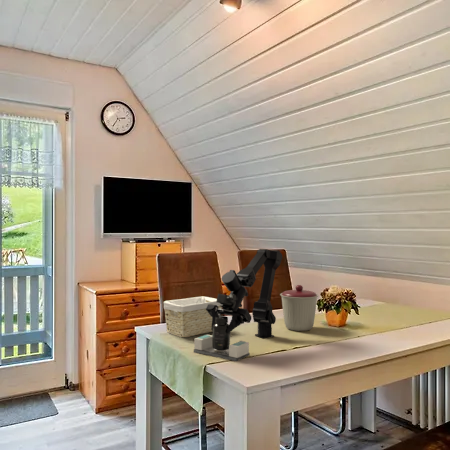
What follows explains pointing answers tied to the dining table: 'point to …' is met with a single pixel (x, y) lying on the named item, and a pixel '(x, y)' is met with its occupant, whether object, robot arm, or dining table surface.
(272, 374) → the dining table surface
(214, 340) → the supplement bottle
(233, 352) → the module pair
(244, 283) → the robot arm
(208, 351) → the rail plate
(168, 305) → the storage basket
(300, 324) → the canister
